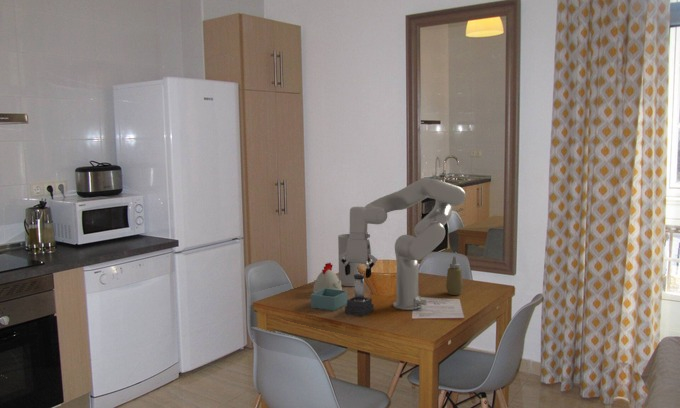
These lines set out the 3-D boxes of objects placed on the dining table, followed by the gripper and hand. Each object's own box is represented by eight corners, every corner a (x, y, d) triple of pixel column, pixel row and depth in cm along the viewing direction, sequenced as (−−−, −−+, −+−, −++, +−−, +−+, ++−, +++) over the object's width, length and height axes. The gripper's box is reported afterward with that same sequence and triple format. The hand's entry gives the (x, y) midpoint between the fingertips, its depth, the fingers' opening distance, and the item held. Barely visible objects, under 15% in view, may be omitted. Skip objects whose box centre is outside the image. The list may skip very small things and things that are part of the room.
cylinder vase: (356, 279, 296) (355, 233, 293) (367, 285, 285) (367, 236, 282) (334, 282, 291) (334, 235, 288) (345, 288, 279) (344, 238, 277)
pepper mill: (367, 304, 240) (366, 274, 239) (361, 307, 236) (361, 277, 234) (357, 302, 242) (356, 273, 241) (351, 305, 238) (351, 275, 237)
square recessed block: (373, 310, 241) (373, 298, 241) (364, 316, 233) (364, 303, 233) (355, 307, 245) (354, 295, 245) (345, 313, 238) (345, 300, 237)
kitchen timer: (347, 292, 271) (346, 262, 270) (332, 299, 260) (332, 267, 258) (323, 289, 278) (322, 259, 277) (307, 295, 267) (307, 264, 265)
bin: (347, 304, 251) (347, 291, 251) (334, 311, 241) (334, 297, 240) (324, 300, 257) (324, 288, 256) (310, 307, 247) (310, 294, 246)
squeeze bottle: (444, 295, 264) (444, 257, 262) (447, 290, 271) (447, 254, 269) (461, 296, 261) (461, 258, 259) (464, 292, 268) (464, 255, 266)
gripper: (380, 236, 235) (380, 276, 237) (344, 233, 243) (344, 272, 245) (373, 239, 228) (372, 280, 230) (336, 235, 237) (335, 275, 238)
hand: (357, 276), depth 238 cm, fingers open, 9 cm apart
